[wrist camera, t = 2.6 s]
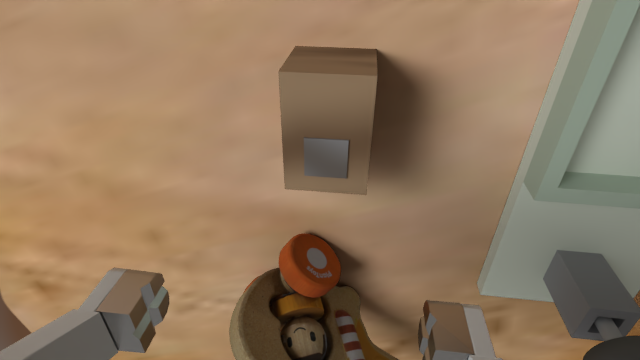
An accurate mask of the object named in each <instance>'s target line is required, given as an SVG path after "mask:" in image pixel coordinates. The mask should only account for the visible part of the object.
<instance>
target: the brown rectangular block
mask: <svg viewBox="0 0 640 360" xmlns="http://www.w3.org/2000/svg"><path fill="white" fill-rule="evenodd" d="M376 87H377V49H361V48H334V47H307V46H295V48H294V49H293V51H292V52H291V54H290V55H289V57H288V58H287V60H286V61H285V63H284V64H283V66H282V67H281V69H280V70H279V90H280V108H281V126H282V144H283V163H284V181H285V189H292V190H306V191H320V192H333V193H347V194H360V195H366V194H367V184H368V173H369V162H370V151H371V140H372V130H373V119H374V108H375V97H376Z"/></svg>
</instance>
